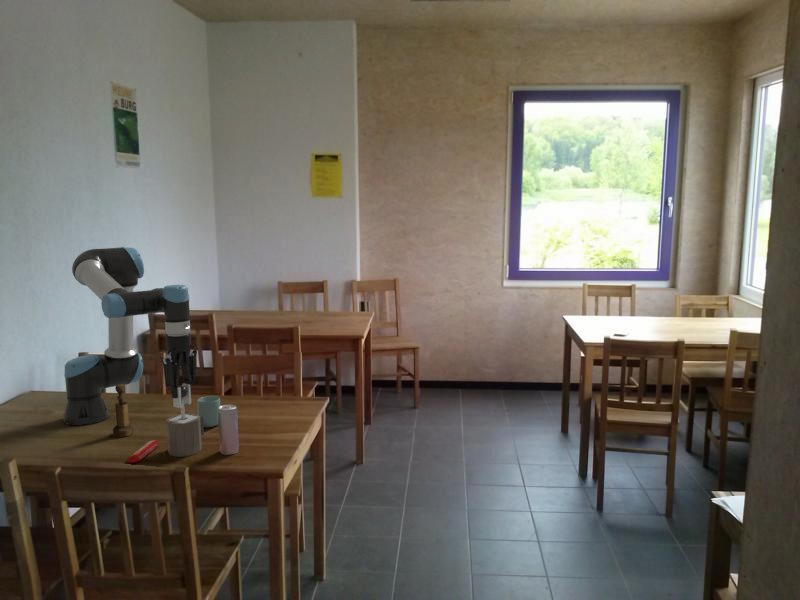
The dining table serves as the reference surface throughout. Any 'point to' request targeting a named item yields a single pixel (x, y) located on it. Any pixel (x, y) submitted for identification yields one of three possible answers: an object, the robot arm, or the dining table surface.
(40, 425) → the dining table surface
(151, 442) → the candy bar
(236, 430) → the beverage can
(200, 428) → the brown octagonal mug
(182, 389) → the joystick
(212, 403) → the cup
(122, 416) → the mortar and pestle
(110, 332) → the robot arm
